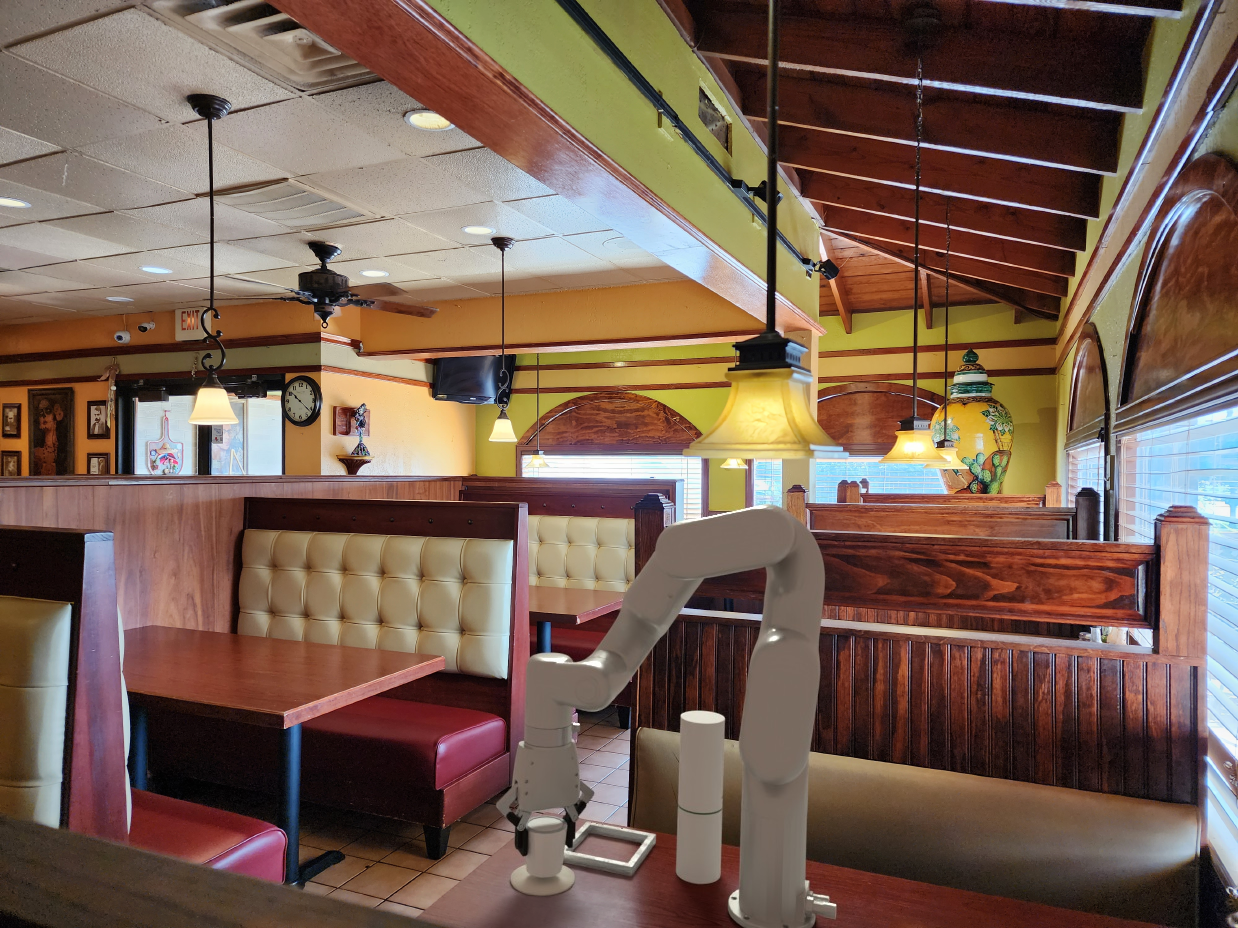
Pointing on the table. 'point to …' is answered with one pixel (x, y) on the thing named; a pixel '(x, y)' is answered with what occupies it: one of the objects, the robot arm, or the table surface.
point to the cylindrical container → (700, 796)
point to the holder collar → (609, 864)
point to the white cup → (545, 845)
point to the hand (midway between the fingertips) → (544, 847)
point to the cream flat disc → (542, 882)
